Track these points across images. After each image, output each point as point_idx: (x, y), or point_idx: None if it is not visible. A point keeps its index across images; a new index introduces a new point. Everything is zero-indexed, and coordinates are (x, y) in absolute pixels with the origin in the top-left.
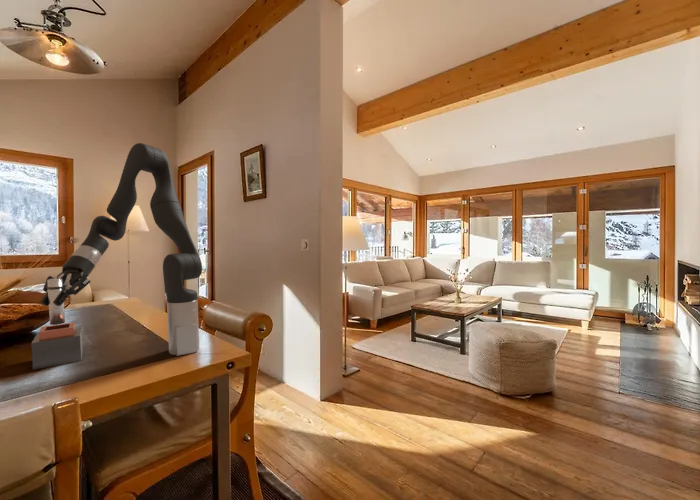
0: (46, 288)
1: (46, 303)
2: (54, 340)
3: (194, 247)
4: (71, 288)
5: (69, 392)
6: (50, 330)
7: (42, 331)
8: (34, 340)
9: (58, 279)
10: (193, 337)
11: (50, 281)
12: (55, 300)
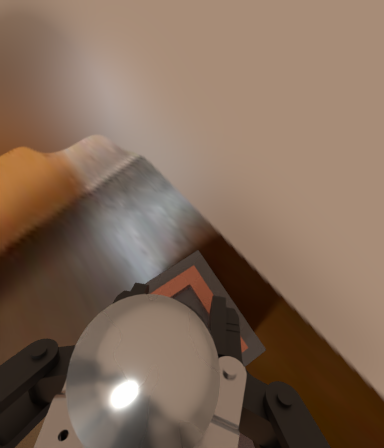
0: (270, 398)
1: (209, 317)
2: (156, 277)
3: None
4: (29, 357)
5: (63, 169)
6: (172, 286)
7: (191, 277)
8: (211, 275)
9: (91, 355)
10: None
11: (150, 295)
12: (137, 289)
